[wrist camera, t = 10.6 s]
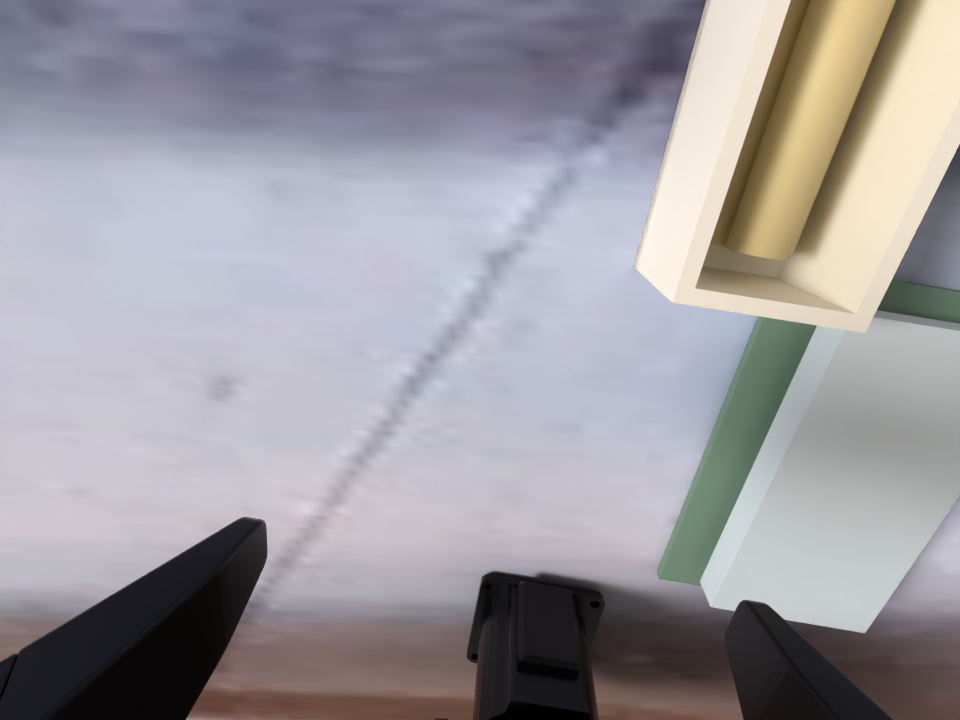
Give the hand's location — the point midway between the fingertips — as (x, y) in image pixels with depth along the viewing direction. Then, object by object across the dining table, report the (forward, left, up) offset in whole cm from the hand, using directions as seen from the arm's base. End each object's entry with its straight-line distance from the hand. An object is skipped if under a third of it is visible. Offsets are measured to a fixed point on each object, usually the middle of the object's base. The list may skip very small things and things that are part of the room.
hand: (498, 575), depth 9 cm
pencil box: (+11, -7, -12) cm, 18 cm away
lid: (-3, -14, -11) cm, 18 cm away
